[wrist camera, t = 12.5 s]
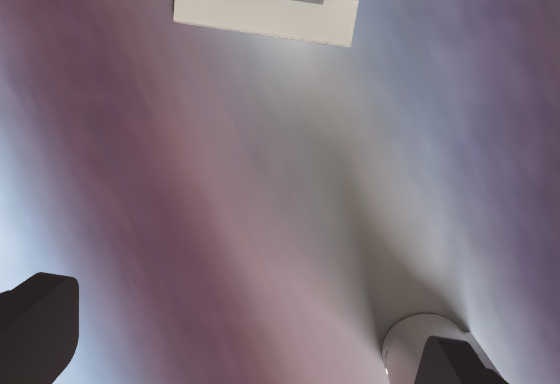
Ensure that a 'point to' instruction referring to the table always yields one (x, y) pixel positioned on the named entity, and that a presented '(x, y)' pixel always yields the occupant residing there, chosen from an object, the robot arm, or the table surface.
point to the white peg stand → (275, 18)
